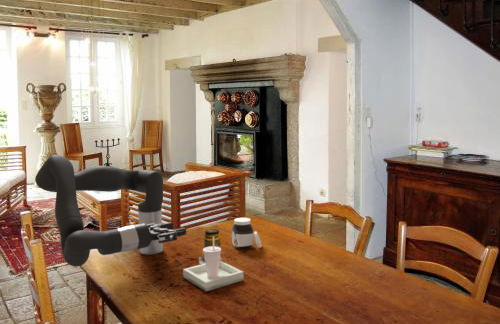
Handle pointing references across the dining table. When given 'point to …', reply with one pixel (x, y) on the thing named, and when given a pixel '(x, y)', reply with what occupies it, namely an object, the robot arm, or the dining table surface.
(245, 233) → the spread jar
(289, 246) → the dining table surface
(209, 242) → the condiment
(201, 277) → the tray
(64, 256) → the robot arm
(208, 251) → the smoothie
